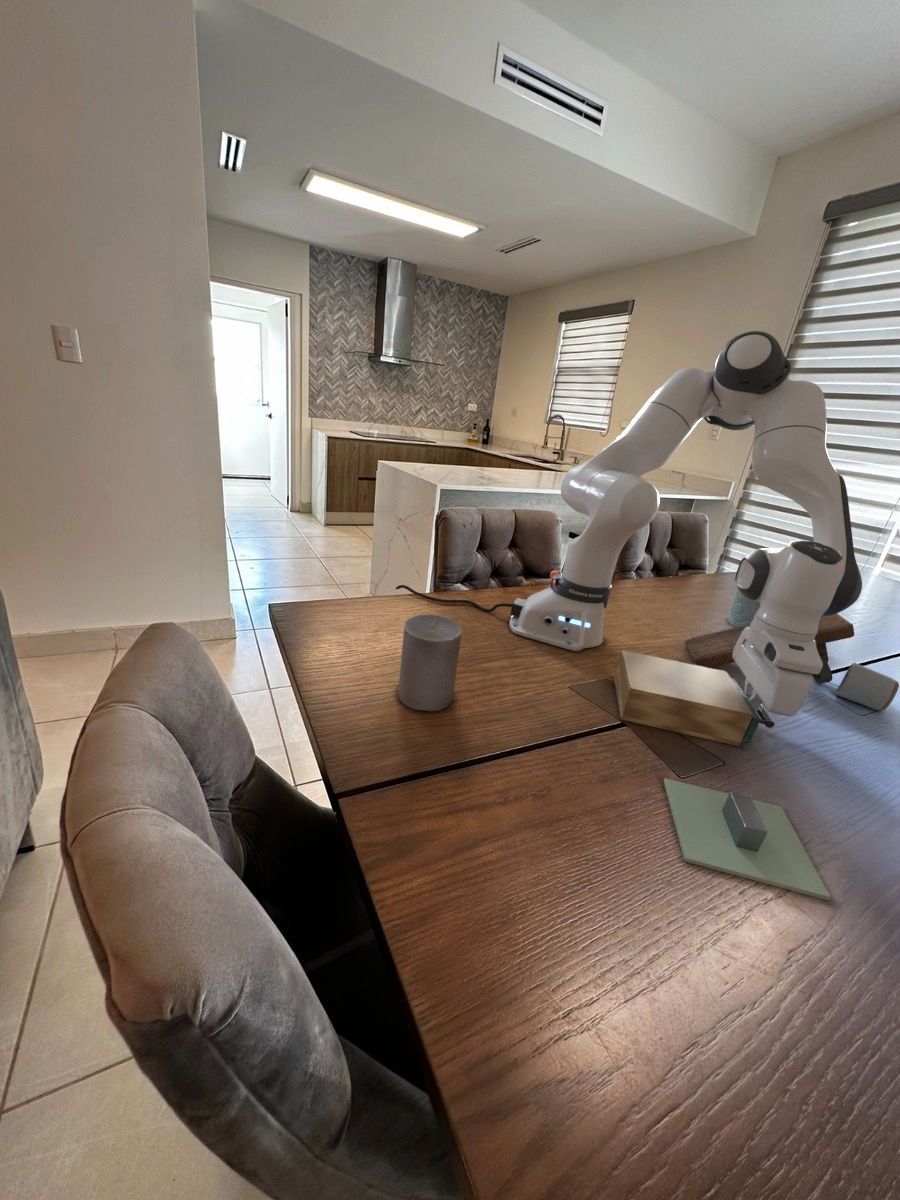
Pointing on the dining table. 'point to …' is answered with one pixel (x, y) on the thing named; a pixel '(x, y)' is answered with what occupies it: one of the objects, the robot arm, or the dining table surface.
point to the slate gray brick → (744, 822)
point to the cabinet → (680, 698)
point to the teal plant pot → (742, 610)
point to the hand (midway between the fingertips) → (749, 706)
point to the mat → (715, 847)
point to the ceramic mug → (868, 687)
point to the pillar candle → (429, 662)
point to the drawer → (754, 716)
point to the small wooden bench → (722, 643)
